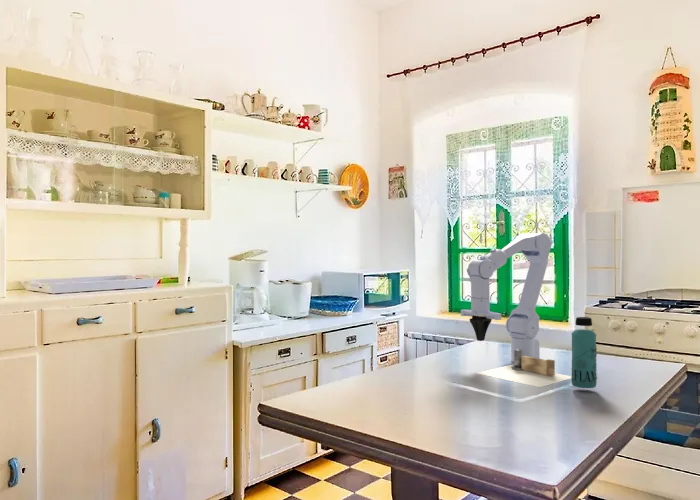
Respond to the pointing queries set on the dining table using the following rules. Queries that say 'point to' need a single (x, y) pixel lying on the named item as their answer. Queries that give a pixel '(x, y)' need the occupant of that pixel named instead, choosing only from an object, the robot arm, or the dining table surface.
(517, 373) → the board
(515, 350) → the hinge post
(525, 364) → the tan wooden bar
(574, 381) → the beverage bottle
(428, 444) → the dining table surface
